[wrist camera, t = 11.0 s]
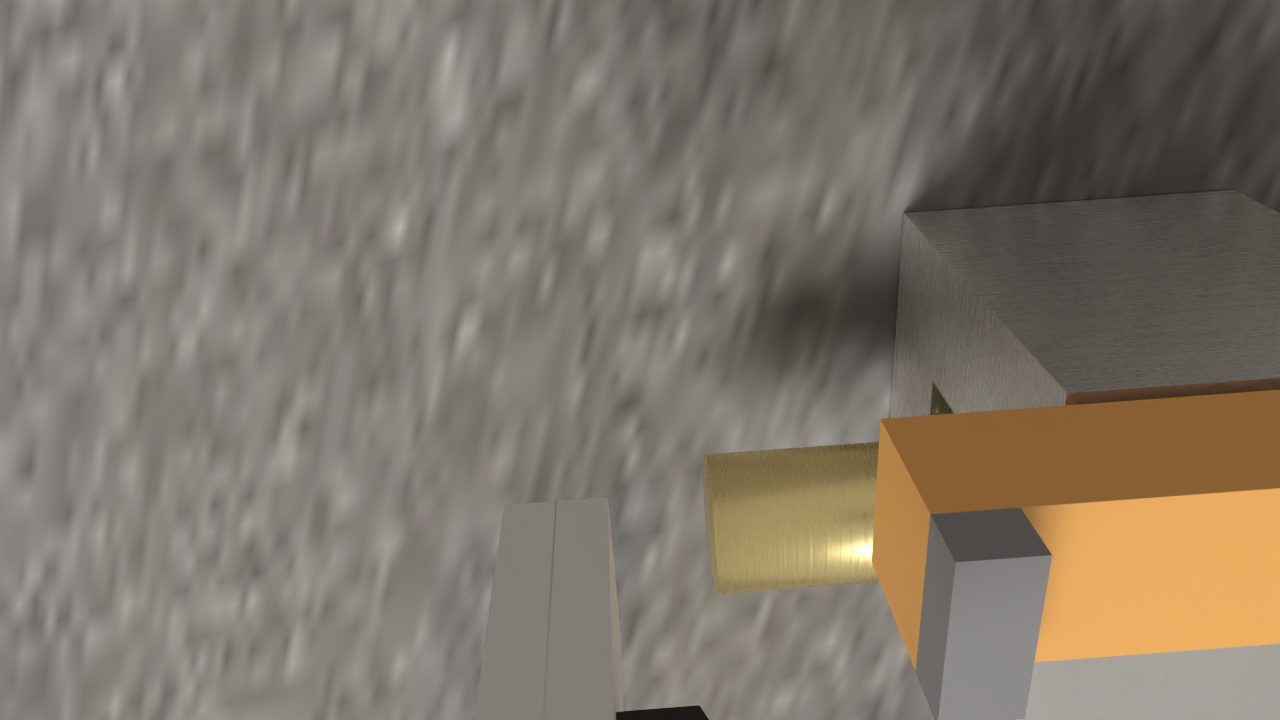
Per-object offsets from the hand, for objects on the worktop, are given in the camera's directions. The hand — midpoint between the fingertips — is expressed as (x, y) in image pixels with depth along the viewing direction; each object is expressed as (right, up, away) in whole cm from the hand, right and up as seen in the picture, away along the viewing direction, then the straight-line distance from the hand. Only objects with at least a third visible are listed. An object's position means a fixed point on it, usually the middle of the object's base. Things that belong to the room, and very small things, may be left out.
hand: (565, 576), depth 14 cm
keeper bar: (+10, +1, +1) cm, 10 cm away
